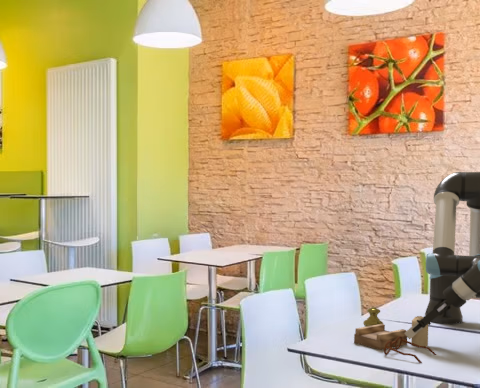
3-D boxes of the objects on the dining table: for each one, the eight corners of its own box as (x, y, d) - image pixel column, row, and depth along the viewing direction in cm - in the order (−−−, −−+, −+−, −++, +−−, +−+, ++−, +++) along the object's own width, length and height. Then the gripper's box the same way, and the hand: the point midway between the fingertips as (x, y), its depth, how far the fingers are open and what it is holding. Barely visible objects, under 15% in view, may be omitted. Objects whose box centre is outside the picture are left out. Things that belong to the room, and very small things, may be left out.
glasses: (399, 348, 199) (399, 334, 199) (437, 356, 190) (437, 341, 190) (382, 356, 188) (383, 341, 188) (421, 365, 180) (422, 349, 180)
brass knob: (359, 333, 218) (359, 306, 218) (371, 330, 223) (371, 304, 223) (375, 337, 213) (376, 310, 213) (387, 334, 217) (387, 307, 217)
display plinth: (380, 337, 213) (380, 323, 213) (407, 344, 203) (407, 330, 203) (354, 342, 204) (354, 328, 204) (381, 350, 195) (381, 335, 195)
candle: (428, 347, 199) (429, 318, 199) (412, 346, 200) (412, 317, 200) (426, 343, 205) (427, 315, 205) (410, 342, 206) (411, 314, 206)
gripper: (463, 305, 187) (410, 348, 195) (471, 297, 203) (422, 337, 211) (446, 287, 189) (395, 330, 197) (455, 281, 206) (407, 321, 214)
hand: (409, 334), depth 204 cm, fingers closed on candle, 5 cm apart
